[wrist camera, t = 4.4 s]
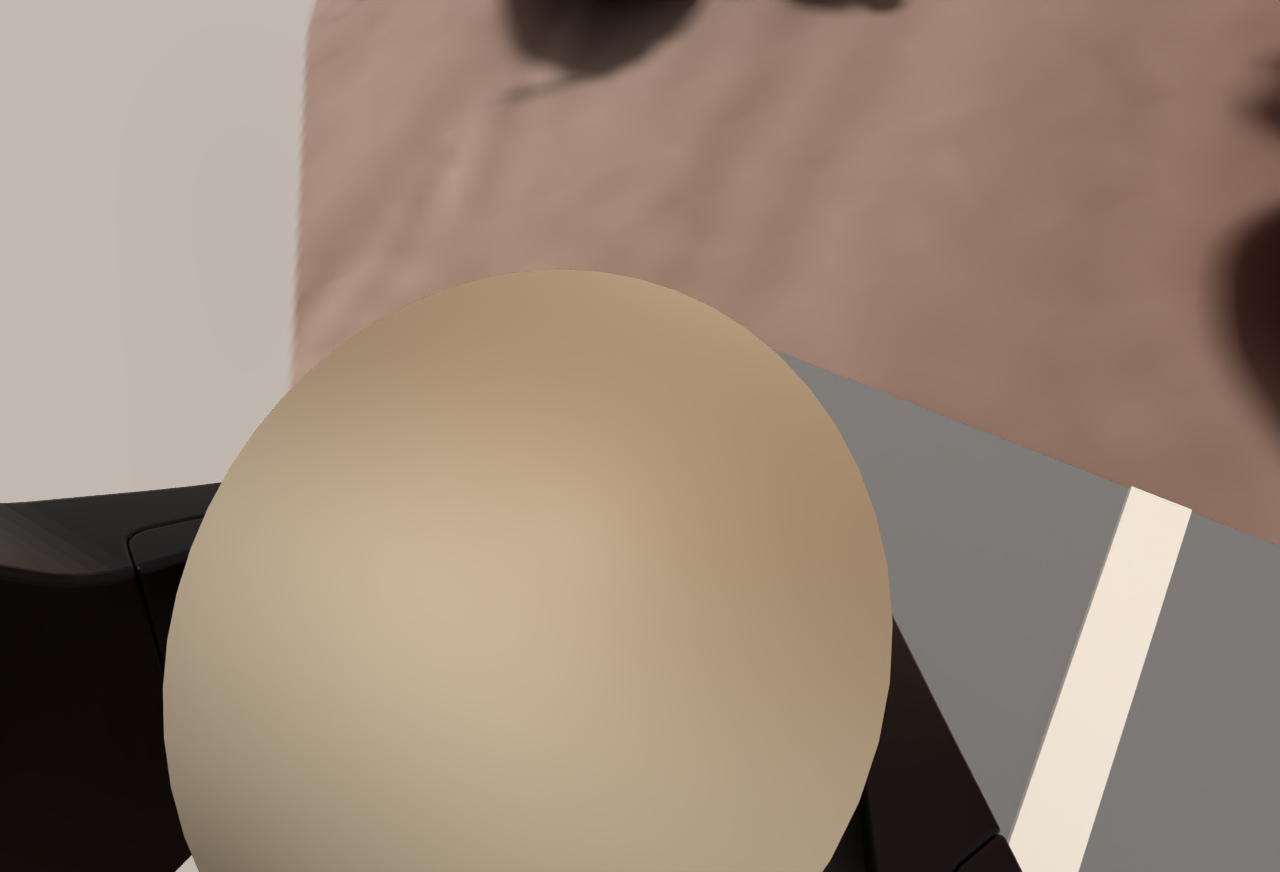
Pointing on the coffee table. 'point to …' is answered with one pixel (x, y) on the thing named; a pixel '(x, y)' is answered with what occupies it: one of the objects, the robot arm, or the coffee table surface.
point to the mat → (1078, 643)
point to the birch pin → (533, 601)
